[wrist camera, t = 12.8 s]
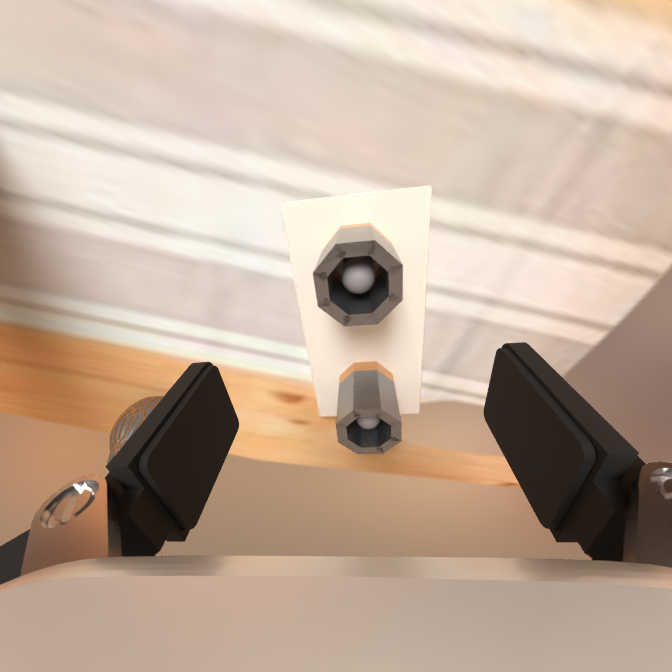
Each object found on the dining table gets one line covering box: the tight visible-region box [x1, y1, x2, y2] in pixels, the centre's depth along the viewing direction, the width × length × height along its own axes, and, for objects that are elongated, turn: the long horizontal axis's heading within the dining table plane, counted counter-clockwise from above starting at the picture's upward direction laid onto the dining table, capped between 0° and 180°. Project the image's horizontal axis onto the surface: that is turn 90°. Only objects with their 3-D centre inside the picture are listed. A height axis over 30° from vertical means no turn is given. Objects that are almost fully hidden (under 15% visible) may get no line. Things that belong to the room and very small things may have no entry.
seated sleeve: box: [336, 361, 401, 454], centre depth 29 cm, size 6×6×7 cm
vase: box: [107, 397, 163, 463], centre depth 34 cm, size 7×7×9 cm
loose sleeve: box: [313, 223, 403, 327], centre depth 22 cm, size 6×6×7 cm
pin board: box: [280, 186, 432, 429], centre depth 26 cm, size 24×12×8 cm, turn 6°
